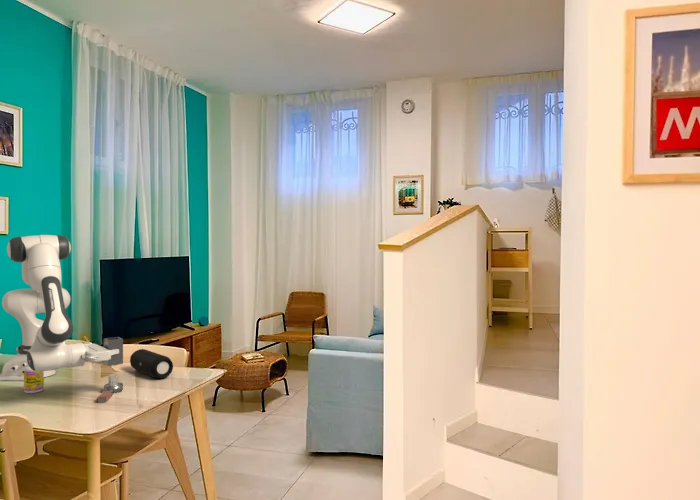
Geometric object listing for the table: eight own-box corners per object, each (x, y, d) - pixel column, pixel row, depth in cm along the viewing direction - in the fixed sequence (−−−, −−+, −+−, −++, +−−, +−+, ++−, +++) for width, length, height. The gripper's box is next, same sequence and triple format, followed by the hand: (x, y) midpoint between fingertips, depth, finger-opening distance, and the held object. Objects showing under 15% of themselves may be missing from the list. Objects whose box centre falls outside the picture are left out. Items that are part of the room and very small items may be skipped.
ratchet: (91, 403, 182) (91, 387, 182) (106, 388, 200) (106, 374, 200) (111, 402, 184) (111, 386, 184) (124, 388, 202) (124, 373, 202)
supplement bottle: (22, 394, 192) (22, 362, 192) (25, 390, 198) (25, 358, 198) (42, 392, 195) (42, 360, 195) (44, 388, 201) (44, 356, 201)
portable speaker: (128, 371, 228) (128, 349, 228) (148, 367, 236) (148, 346, 236) (153, 382, 211) (153, 358, 211) (175, 377, 218) (175, 355, 218)
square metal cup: (108, 365, 193) (108, 340, 193) (103, 363, 197) (103, 338, 197) (123, 363, 197) (122, 338, 197) (118, 361, 201) (118, 337, 201)
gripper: (85, 350, 181) (124, 345, 190) (70, 342, 196) (107, 338, 205) (85, 367, 181) (124, 361, 190) (70, 358, 196) (107, 353, 205)
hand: (115, 349), depth 198 cm, fingers closed on square metal cup, 6 cm apart
